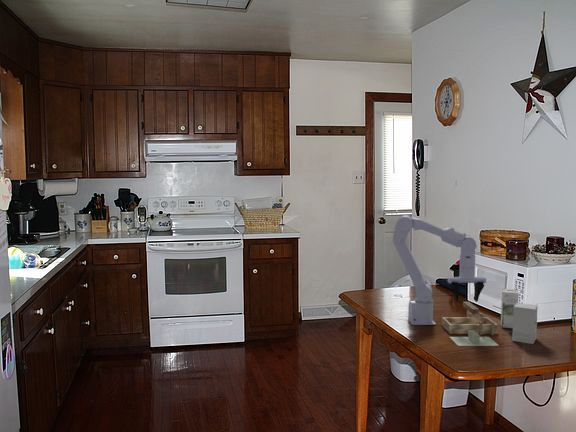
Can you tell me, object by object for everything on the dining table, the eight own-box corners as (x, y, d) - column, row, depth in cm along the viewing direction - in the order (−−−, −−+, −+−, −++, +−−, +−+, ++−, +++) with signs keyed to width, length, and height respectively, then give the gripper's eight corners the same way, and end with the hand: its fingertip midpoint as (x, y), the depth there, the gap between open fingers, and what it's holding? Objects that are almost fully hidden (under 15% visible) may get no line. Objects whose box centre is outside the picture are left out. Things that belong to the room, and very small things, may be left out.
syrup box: (516, 325, 212) (517, 289, 211) (517, 329, 206) (518, 292, 205) (500, 323, 214) (501, 288, 212) (501, 328, 208) (502, 291, 207)
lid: (458, 347, 188) (458, 337, 187) (449, 338, 197) (449, 328, 197) (498, 347, 188) (499, 337, 187) (488, 338, 197) (488, 328, 197)
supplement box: (534, 344, 189) (535, 309, 188) (511, 340, 193) (512, 306, 192) (536, 338, 195) (538, 304, 194) (515, 335, 199) (516, 302, 198)
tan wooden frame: (450, 335, 200) (451, 322, 199) (440, 325, 212) (441, 313, 212) (499, 335, 200) (499, 322, 199) (486, 324, 213) (486, 313, 212)
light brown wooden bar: (472, 314, 211) (473, 309, 211) (462, 306, 223) (463, 301, 223) (479, 314, 211) (479, 309, 211) (468, 306, 223) (468, 301, 223)
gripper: (451, 268, 206) (450, 303, 207) (489, 268, 206) (488, 303, 207) (446, 265, 213) (445, 298, 214) (483, 265, 213) (482, 299, 214)
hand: (466, 300), depth 211 cm, fingers open, 7 cm apart
